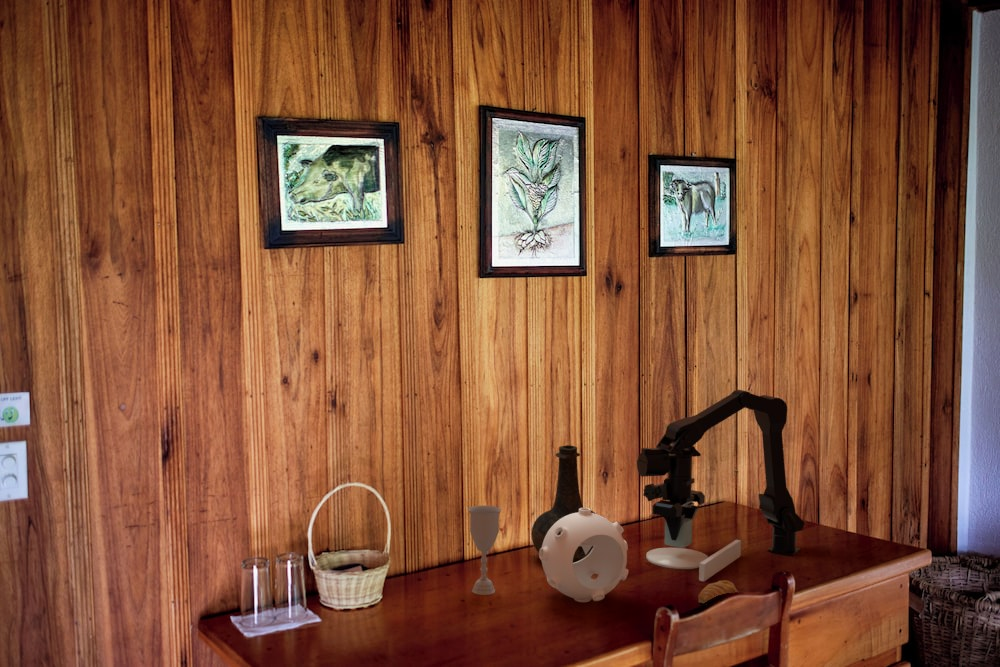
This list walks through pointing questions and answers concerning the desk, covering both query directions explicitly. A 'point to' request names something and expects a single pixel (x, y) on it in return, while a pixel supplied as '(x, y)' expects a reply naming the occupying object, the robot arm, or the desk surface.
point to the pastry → (716, 590)
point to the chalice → (484, 540)
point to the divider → (719, 560)
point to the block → (680, 535)
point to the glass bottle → (562, 499)
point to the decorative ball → (601, 560)
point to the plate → (676, 558)
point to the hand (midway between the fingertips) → (678, 537)
